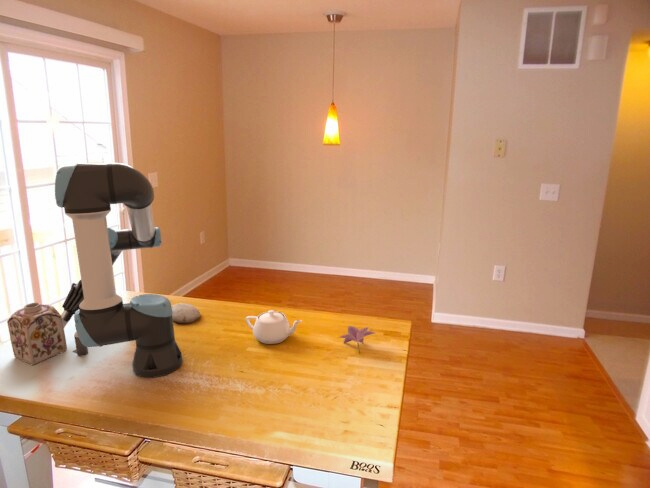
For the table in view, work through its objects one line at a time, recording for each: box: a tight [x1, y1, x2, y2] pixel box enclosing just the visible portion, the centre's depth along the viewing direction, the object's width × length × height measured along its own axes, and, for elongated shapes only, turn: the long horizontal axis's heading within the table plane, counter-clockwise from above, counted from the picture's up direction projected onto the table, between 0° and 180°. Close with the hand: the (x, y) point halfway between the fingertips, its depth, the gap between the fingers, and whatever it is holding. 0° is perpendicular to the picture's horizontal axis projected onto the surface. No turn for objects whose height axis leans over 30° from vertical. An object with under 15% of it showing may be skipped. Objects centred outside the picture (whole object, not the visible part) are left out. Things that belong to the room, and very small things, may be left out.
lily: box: [338, 325, 376, 355], centre depth 149 cm, size 12×12×10 cm
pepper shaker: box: [74, 331, 89, 357], centre depth 145 cm, size 3×3×9 cm
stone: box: [171, 302, 201, 325], centre depth 173 cm, size 13×10×8 cm
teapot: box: [245, 309, 303, 345], centre depth 156 cm, size 22×14×11 cm, turn 73°
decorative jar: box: [7, 302, 68, 366], centre depth 144 cm, size 12×12×18 cm
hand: (57, 328), depth 151 cm, fingers closed
